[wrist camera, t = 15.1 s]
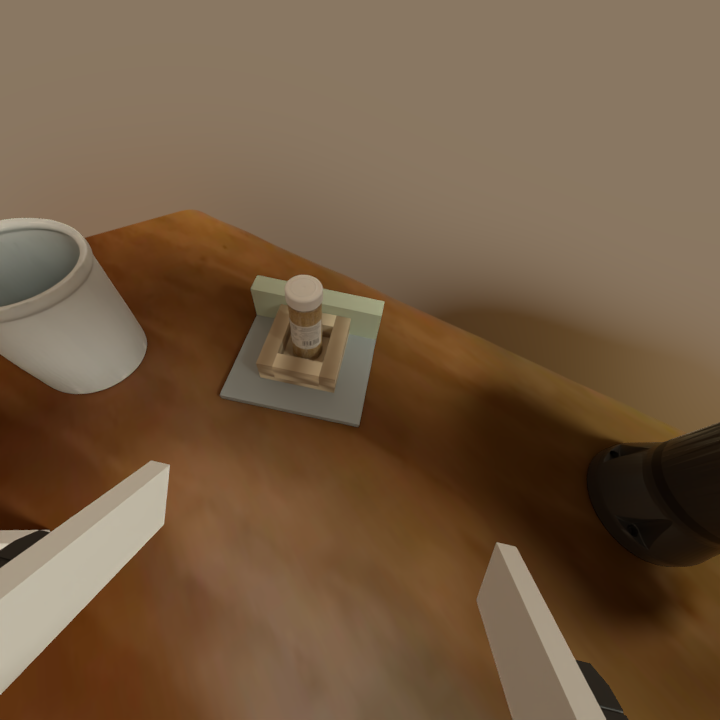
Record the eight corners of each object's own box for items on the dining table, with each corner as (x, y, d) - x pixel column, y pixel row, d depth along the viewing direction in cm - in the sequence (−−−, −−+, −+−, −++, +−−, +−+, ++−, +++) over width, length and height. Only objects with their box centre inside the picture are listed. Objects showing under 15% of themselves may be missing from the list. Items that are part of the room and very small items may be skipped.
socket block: (348, 334, 54) (350, 318, 51) (334, 392, 48) (335, 379, 45) (283, 320, 54) (280, 303, 51) (260, 377, 48) (255, 363, 45)
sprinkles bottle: (322, 337, 52) (322, 273, 41) (322, 362, 50) (323, 301, 38) (292, 337, 51) (284, 272, 40) (291, 362, 49) (283, 301, 38)
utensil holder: (91, 302, 54) (4, 202, 39) (173, 330, 52) (116, 237, 38) (12, 376, 46) (-135, 285, 31) (106, 412, 45) (1, 334, 30)
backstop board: (377, 329, 57) (384, 301, 51) (358, 427, 47) (364, 407, 41) (263, 305, 57) (257, 275, 51) (221, 398, 47) (207, 373, 41)
